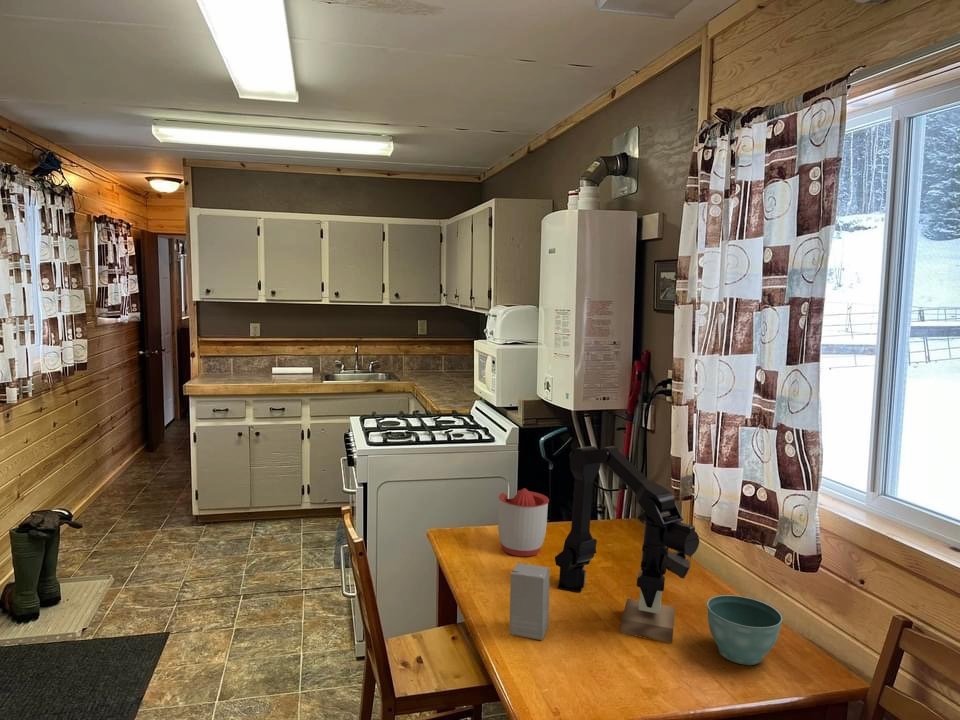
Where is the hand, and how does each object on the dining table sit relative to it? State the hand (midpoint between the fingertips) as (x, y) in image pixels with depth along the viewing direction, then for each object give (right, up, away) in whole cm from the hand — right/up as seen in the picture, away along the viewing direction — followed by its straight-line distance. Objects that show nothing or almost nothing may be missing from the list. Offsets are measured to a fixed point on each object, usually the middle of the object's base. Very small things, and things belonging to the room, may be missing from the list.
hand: (650, 602), depth 169 cm
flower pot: (+18, -9, -10) cm, 23 cm away
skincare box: (-31, -5, -6) cm, 32 cm away
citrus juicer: (-30, 0, +46) cm, 55 cm away
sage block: (0, -1, 0) cm, 1 cm away
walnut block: (0, -7, +1) cm, 7 cm away
